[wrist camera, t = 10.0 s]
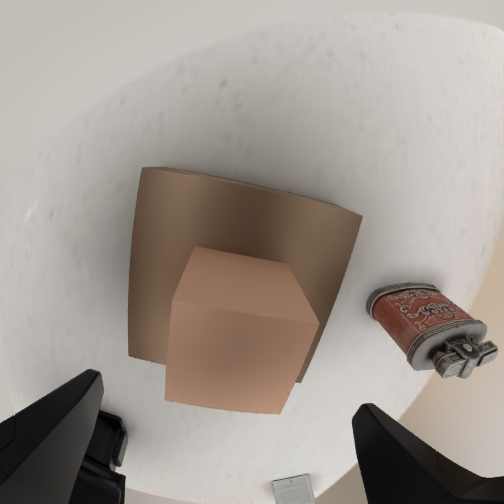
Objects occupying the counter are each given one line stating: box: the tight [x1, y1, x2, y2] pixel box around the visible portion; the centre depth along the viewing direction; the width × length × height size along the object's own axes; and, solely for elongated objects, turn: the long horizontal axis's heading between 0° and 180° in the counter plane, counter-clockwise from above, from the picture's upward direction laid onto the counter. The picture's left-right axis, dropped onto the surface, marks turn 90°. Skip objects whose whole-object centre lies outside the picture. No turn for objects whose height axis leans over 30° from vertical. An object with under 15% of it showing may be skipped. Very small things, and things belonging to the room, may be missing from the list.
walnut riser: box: [128, 167, 363, 383], centre depth 17 cm, size 12×12×4 cm
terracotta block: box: [165, 246, 320, 414], centre depth 12 cm, size 5×5×6 cm
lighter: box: [366, 283, 498, 379], centre depth 16 cm, size 8×3×10 cm, turn 88°
